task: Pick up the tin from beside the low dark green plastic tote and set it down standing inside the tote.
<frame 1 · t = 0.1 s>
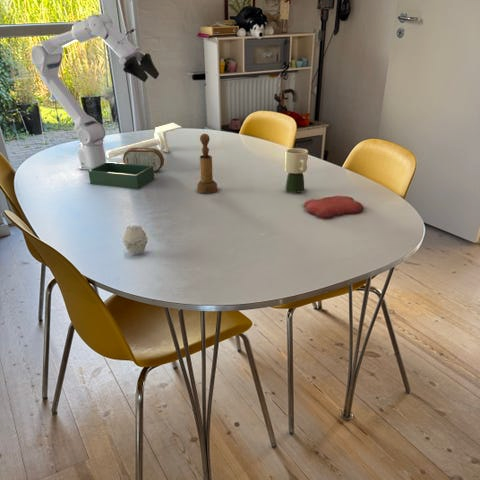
hand: (151, 78, 160), 32 cm above the table, tool tilted 50°, fingers open, 7 cm apart
character mug: (294, 191, 159), on the table
patty: (333, 209, 145), on the table
tin: (144, 172, 180), on the table
off-white lumpy ball: (137, 253, 121), on the table
tote: (122, 181, 170), on the table
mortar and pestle: (207, 191, 161), on the table
paper towel holder: (144, 153, 202), on the table
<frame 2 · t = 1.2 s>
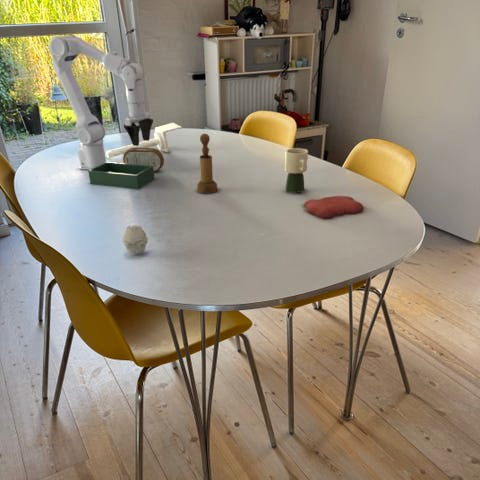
hand: (141, 142, 174), 10 cm above the table, tool pointing down, fingers open, 7 cm apart
nothing on the table moved.
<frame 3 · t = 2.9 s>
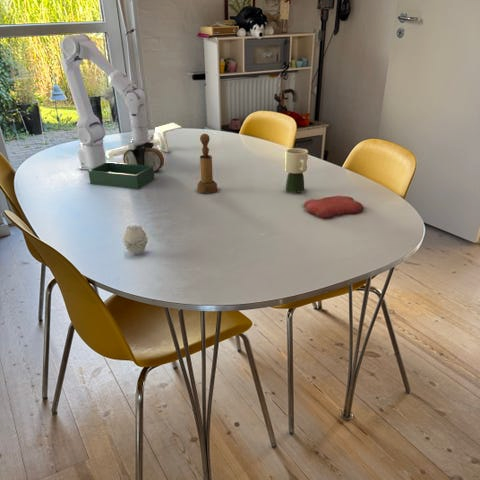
hand: (144, 164, 179), 2 cm above the table, tool pointing down, fingers closed on tin, 3 cm apart
tin: (144, 171, 180), on the table, touching gripper
everything else where it was.
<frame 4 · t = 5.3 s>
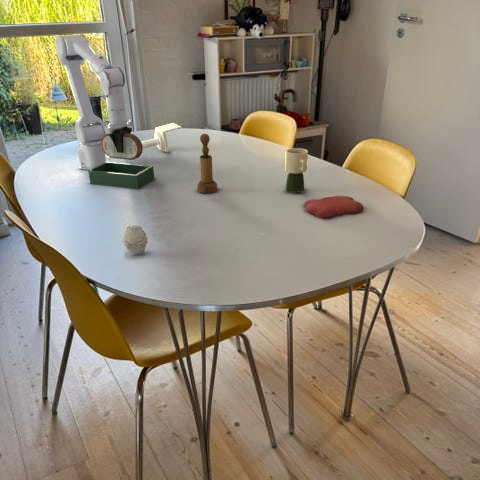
hand: (122, 151, 166), 10 cm above the table, tool pointing down, fingers closed on tin, 2 cm apart
tin: (122, 159, 168), point 7 cm above the table, touching gripper
everything else where it was.
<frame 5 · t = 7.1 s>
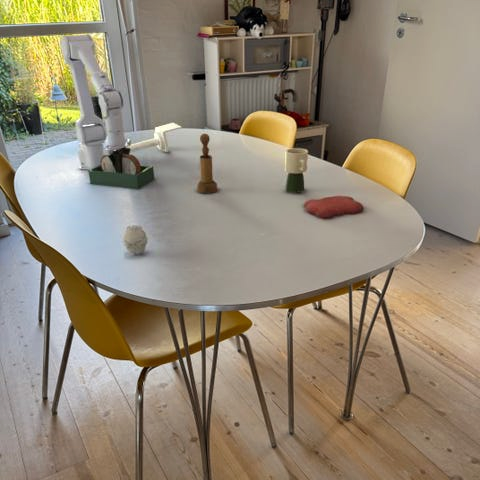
hand: (121, 171, 168), 4 cm above the table, tool pointing down, fingers closed on tin, 2 cm apart
tin: (121, 179, 170), point 1 cm above the table, touching gripper
everything else where it was.
when the fingers open (3 cm above the table, at t = 7.5 s): tin stays where it is, resting on tote.
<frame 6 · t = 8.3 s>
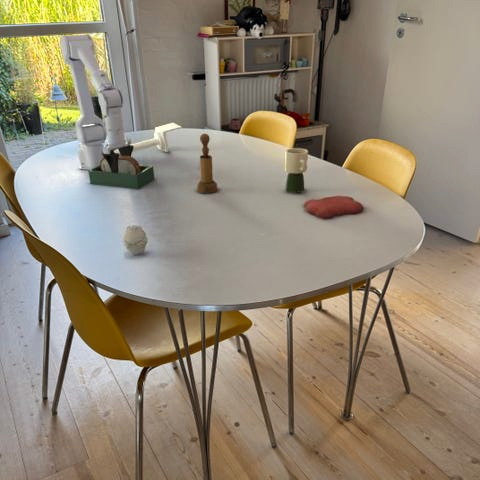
hand: (121, 170, 168), 4 cm above the table, tool pointing down, fingers open, 7 cm apart
tin: (121, 180, 170), resting on tote
everything else where it was.
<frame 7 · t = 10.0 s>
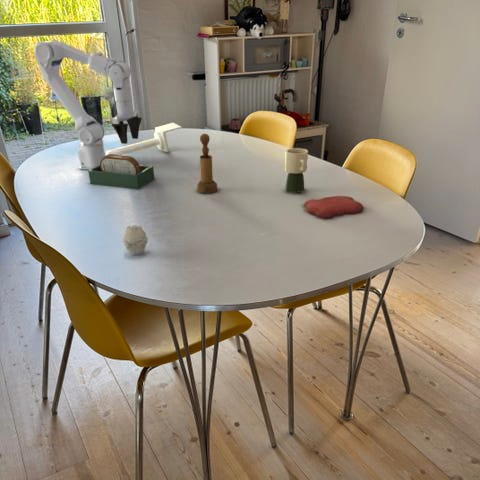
hand: (129, 140, 177), 10 cm above the table, tool pointing down, fingers open, 7 cm apart
nothing on the table moved.
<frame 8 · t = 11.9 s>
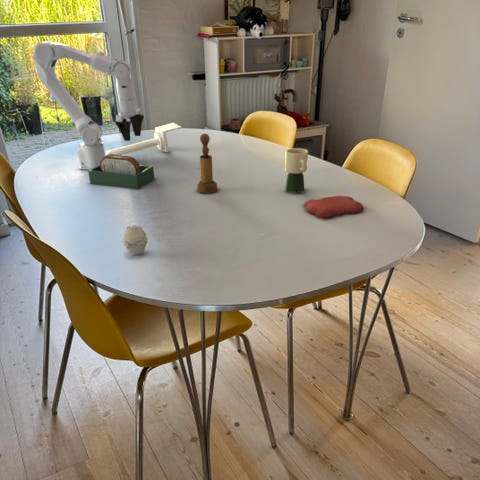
hand: (132, 138, 180), 10 cm above the table, tool pointing down, fingers open, 7 cm apart
nothing on the table moved.
at the end: tin inside the target area in the tote (0.4 cm from its centre), point 0.4 cm above the tote's base; tin tilted 0°; the gripper is holding nothing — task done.
